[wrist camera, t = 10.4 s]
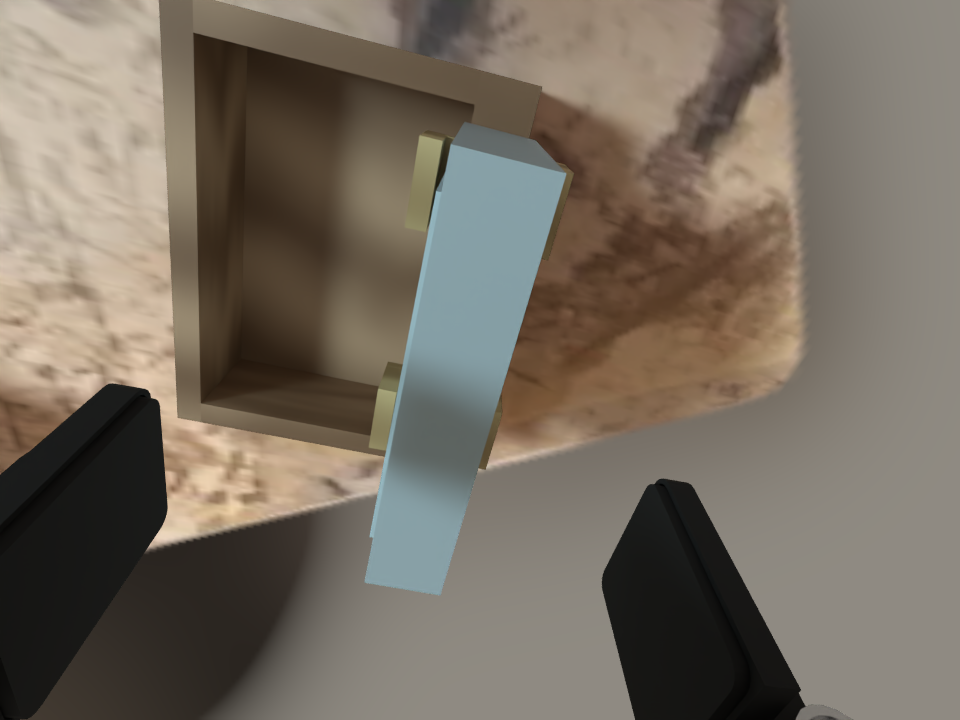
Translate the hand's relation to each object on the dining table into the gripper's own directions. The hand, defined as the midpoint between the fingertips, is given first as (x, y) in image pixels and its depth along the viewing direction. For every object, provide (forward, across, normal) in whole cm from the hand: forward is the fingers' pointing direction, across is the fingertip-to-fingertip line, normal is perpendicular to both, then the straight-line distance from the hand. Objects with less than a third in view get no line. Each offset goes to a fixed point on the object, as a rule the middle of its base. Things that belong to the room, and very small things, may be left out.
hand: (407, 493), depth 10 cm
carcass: (+16, +4, +1) cm, 17 cm away
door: (+11, -1, +1) cm, 11 cm away
